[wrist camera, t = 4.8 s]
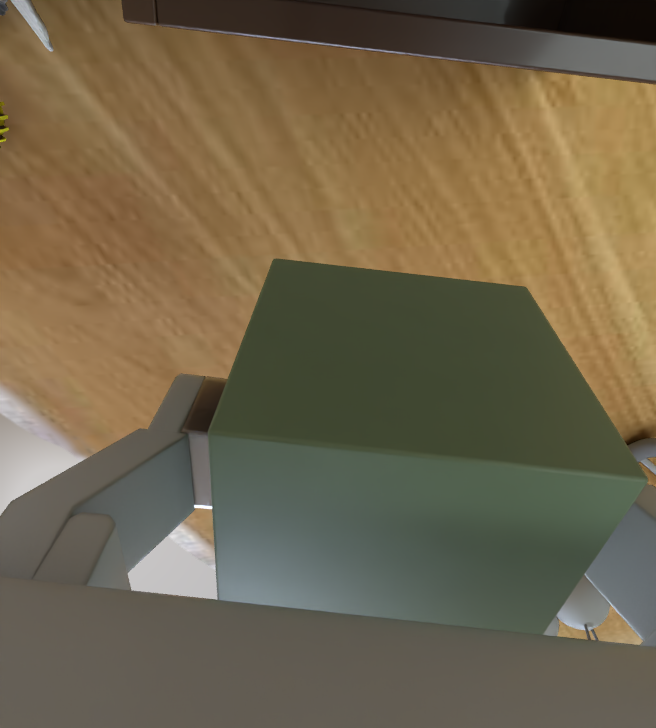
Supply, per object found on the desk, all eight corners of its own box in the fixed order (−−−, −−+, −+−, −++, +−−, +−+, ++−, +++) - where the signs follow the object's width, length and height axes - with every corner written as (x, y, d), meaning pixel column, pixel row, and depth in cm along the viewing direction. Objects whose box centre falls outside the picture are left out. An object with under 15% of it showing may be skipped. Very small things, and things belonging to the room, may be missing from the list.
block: (273, 257, 10) (206, 430, 5) (527, 285, 10) (651, 480, 5) (266, 443, 12) (219, 650, 8) (462, 464, 12) (512, 680, 8)
